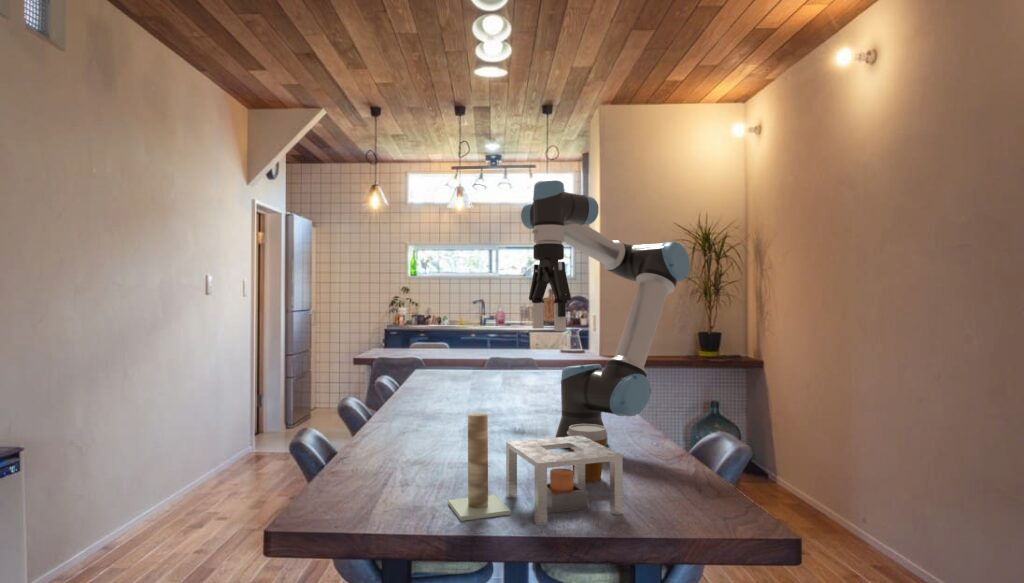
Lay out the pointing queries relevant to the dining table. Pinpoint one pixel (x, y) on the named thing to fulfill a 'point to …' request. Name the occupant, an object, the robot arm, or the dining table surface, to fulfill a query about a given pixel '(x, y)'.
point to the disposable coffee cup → (594, 434)
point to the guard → (544, 459)
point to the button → (561, 480)
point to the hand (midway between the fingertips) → (548, 329)
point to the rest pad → (478, 509)
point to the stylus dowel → (477, 460)
